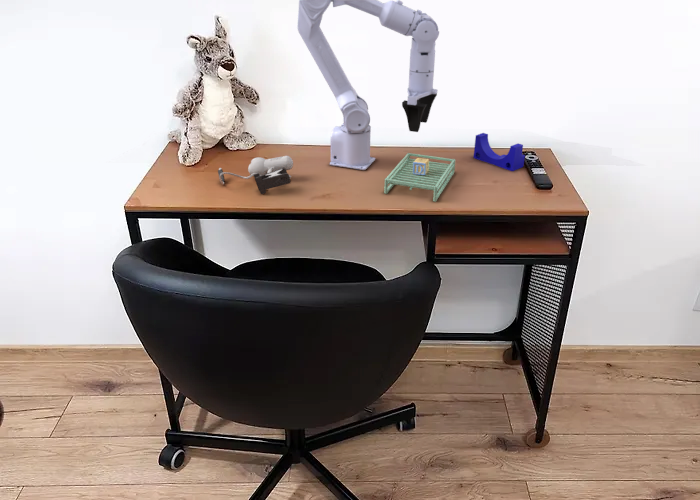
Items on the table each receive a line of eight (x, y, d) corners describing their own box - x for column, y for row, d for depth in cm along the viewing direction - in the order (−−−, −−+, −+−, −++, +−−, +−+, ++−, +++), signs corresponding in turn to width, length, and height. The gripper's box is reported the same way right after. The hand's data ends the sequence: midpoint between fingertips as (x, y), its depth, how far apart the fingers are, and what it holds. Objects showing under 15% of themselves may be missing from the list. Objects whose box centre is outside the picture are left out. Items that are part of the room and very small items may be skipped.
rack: (435, 202, 138) (437, 187, 136) (383, 193, 142) (384, 179, 140) (454, 172, 153) (455, 159, 151) (406, 166, 157) (407, 152, 155)
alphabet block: (412, 174, 145) (412, 161, 144) (416, 169, 148) (416, 157, 146) (425, 176, 144) (425, 163, 143) (428, 171, 147) (429, 159, 146)
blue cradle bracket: (523, 166, 157) (526, 143, 154) (512, 171, 154) (515, 147, 151) (484, 153, 164) (486, 131, 161) (473, 157, 162) (475, 135, 159)
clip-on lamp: (216, 204, 143) (292, 190, 140) (206, 180, 140) (284, 165, 137) (226, 180, 153) (297, 166, 150) (217, 156, 149) (290, 142, 147)
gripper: (430, 78, 140) (426, 137, 147) (445, 64, 152) (441, 119, 159) (399, 75, 142) (397, 133, 149) (417, 62, 154) (414, 116, 161)
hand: (418, 126), depth 154 cm, fingers open, 7 cm apart
